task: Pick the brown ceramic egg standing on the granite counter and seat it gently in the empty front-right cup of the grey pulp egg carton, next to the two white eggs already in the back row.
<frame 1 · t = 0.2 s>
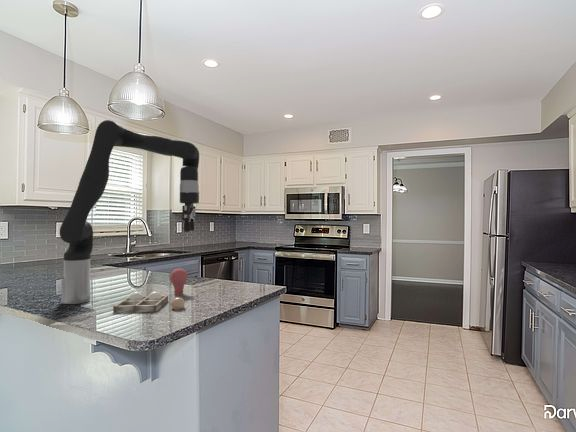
hand: (189, 231, 140), 29 cm above the table, fingers open, 8 cm apart
brown egg: (177, 310, 125), on the table
white egg back left: (136, 304, 131), point 1 cm above the table, touching carton
light bulb: (178, 296, 147), on the table
white egg back right: (154, 303, 131), point 1 cm above the table, touching carton
carton: (142, 308, 128), on the table
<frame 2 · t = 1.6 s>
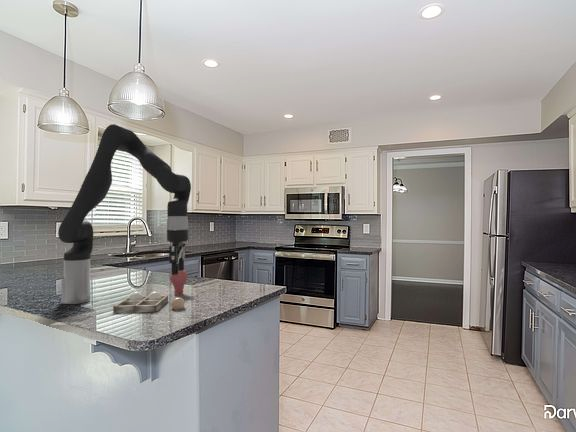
hand: (178, 272, 125), 14 cm above the table, fingers open, 8 cm apart
nothing on the table moved.
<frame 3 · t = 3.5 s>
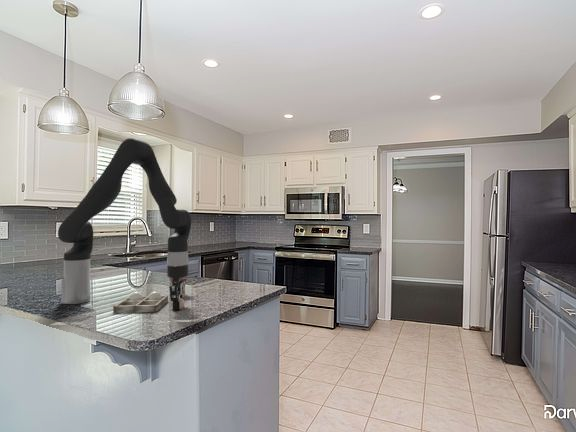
hand: (177, 309, 125), 0 cm above the table, fingers closed on brown egg, 4 cm apart
brown egg: (177, 310, 125), on the table, touching gripper
everything else where it was.
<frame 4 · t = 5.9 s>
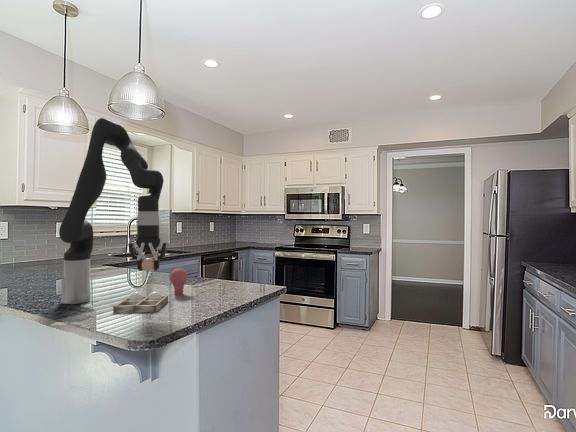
hand: (148, 270, 124), 15 cm above the table, fingers closed on brown egg, 4 cm apart
brown egg: (148, 271, 124), point 15 cm above the table, touching gripper
everything else where it was.
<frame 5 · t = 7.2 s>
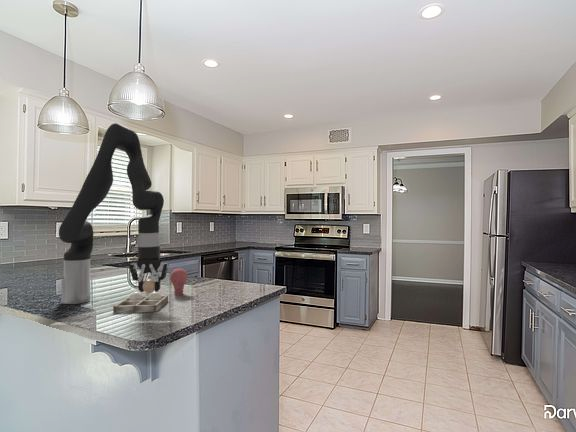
hand: (149, 291, 125), 7 cm above the table, fingers closed on brown egg, 4 cm apart
brown egg: (149, 292, 125), point 7 cm above the table, touching gripper
everything else where it was.
when the fingers open (3 cm above the table, at t = 8.4 s): brown egg drops 2 cm, resting on carton.
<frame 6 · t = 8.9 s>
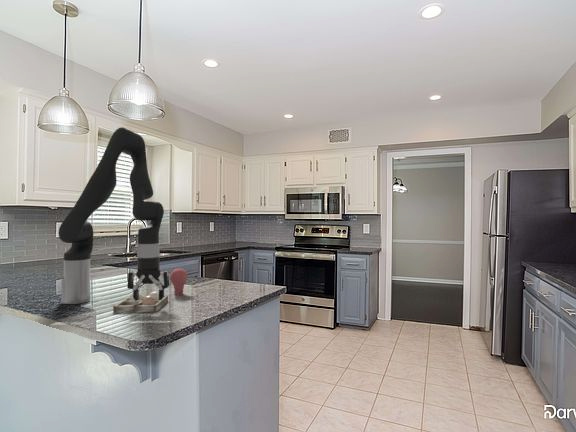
hand: (148, 299, 124), 4 cm above the table, fingers open, 8 cm apart
brown egg: (148, 308, 124), point 1 cm above the table, touching carton
everything else where it was.
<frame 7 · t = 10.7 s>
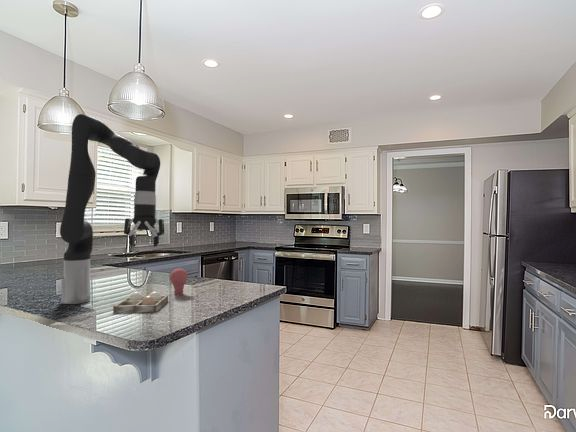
hand: (143, 246, 129), 23 cm above the table, fingers open, 8 cm apart
nothing on the table moved.
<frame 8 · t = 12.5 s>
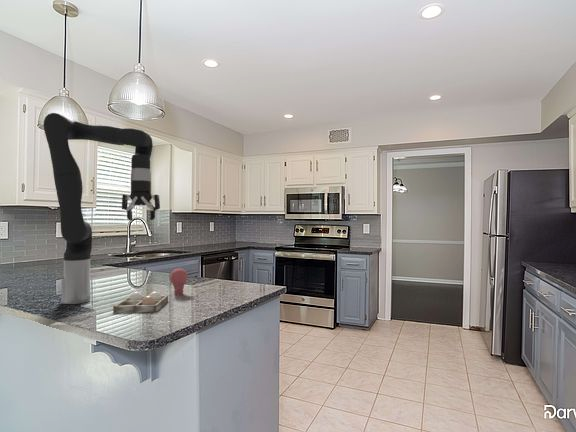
hand: (141, 220, 138), 33 cm above the table, fingers open, 8 cm apart
nothing on the table moved.
at the end: brown egg 0.0 cm from the target spot on the carton, point 0.8 cm above the carton's base; the gripper is holding nothing; white egg back right 0.0 cm from the target spot on the carton, point 0.8 cm above the carton's base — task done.
